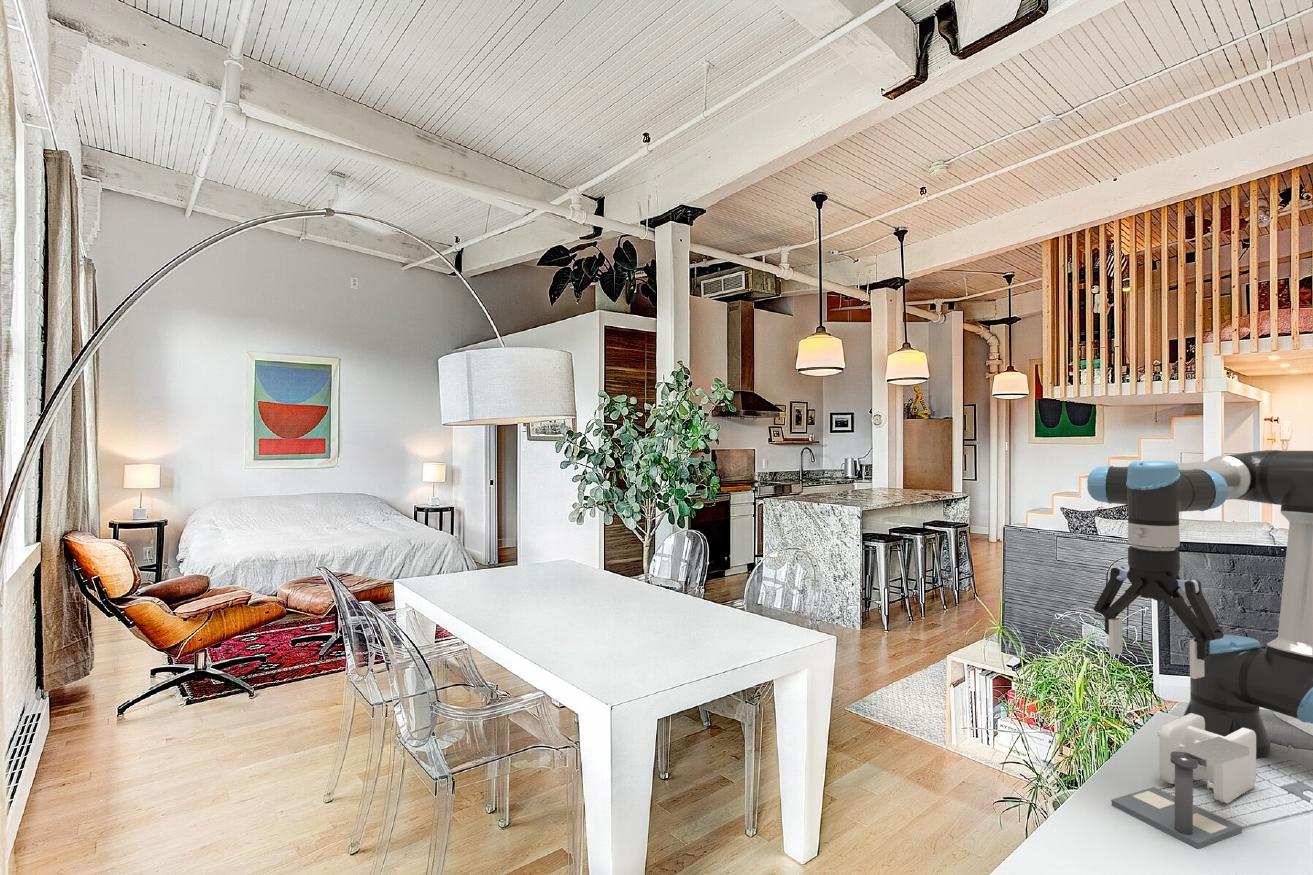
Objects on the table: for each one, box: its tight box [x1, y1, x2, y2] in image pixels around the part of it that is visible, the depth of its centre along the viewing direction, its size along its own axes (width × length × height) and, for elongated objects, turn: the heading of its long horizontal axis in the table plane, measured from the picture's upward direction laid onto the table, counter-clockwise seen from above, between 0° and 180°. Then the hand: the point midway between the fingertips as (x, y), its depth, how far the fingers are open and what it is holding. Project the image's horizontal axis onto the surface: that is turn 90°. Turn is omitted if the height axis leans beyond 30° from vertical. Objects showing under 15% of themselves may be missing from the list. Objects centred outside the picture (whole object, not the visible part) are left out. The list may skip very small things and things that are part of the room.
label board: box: [1111, 765, 1243, 850], centre depth 118 cm, size 12×14×12 cm
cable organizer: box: [1157, 713, 1257, 804], centre depth 129 cm, size 15×11×12 cm
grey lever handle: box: [1170, 737, 1249, 769], centre depth 115 cm, size 16×5×1 cm, turn 112°
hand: (1154, 664), depth 121 cm, fingers open, 13 cm apart
